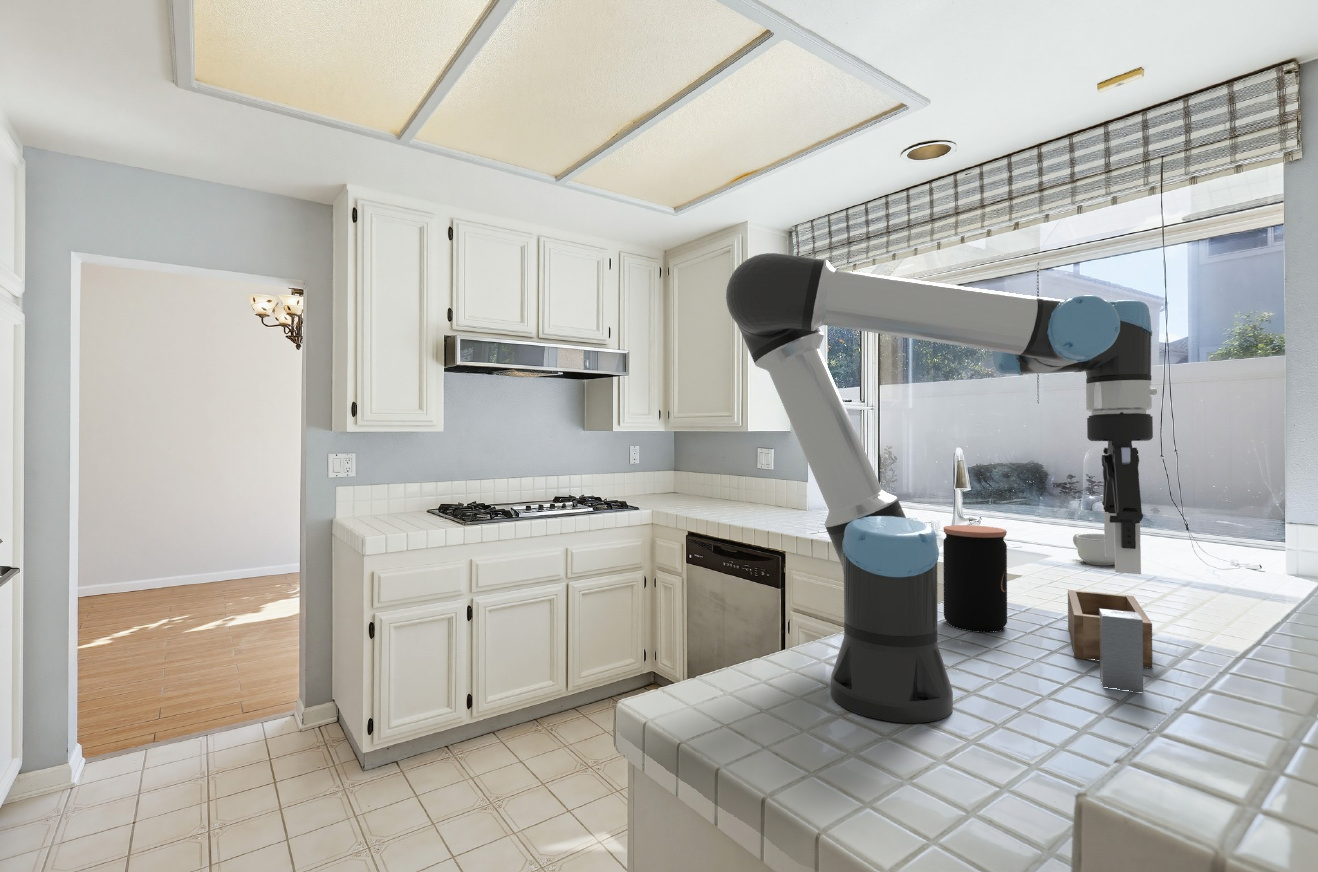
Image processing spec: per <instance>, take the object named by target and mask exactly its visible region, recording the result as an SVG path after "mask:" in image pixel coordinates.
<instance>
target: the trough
mask: <svg viewBox="0 0 1318 872" xmlns="http://www.w3.org/2000/svg"><path fill="white" fill-rule="evenodd" d="M1099 609H1108V610H1118V611H1127V612H1137V613H1138V614H1139V615H1140V617H1141V618H1142V620H1143V667H1148V668H1147V669H1150V668H1152V669H1153V622H1152V621H1151V620H1150V618H1149V617H1148V615H1147V614H1146V612H1145V611H1144V609H1143V608H1142V606H1141V605H1140V603H1139V602H1138V601H1137V600H1136V597H1135V596H1134V595H1129V594H1127V595H1126V594H1125V595H1124V594H1117V593H1108V592H1107V593H1104V592H1095V591H1085V590H1077V589H1076V590H1074V589H1067V627H1068V628H1067V629H1068V632H1069V634H1068V635H1069V637H1070V643H1071V647H1072V652H1073V653H1074V654H1073V657H1074V659H1078V658H1082V659H1081V660H1085V659H1095V660H1100V619H1099Z"/></svg>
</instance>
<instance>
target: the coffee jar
mask: <svg viewBox="0 0 1318 872" xmlns="http://www.w3.org/2000/svg"><path fill="white" fill-rule="evenodd" d="M1007 532H1008V531H1007V530H1006V529H1004V528H999V527H994V526H985V525H984V526H983V525H971V524H969V525H966V524H963V525H961V524H960V525H959V524H957V525H956V524H955V525H954V524H953V525H945V526H943V533H944V534H945V538H944V539H943V540H942V541H943V548H942V549H943V550H942V551H943V552H942V553H943V556H942V557H943V558H942V559H943V617H944V619H945V621H946V623H947V624H948V623H949V624H950V625H949V624H948V625H949V626H951V625H952V626H951V627H953V626H954V628H955V627H958V628H961V629H960V630H962V629H966V630H965V631H967V630H970V631H969V632H973V631H979V632H978V633H996V632H995V631H998V632H1001V631H1003V629H1004V628H1005V626H1006V625H1007V624H1008V544H1007V543H1006V541H1005V537H1006V536H1007ZM958 628H957V629H958ZM1000 630H1001V631H1000ZM993 631H994V632H993Z"/></svg>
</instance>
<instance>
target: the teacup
mask: <svg viewBox="0 0 1318 872" xmlns="http://www.w3.org/2000/svg"><path fill="white" fill-rule="evenodd" d="M1072 542H1073V545H1074V546H1075V547H1076V550H1077V554H1078V557H1079V558H1080V559H1081V560H1082V561H1083V562H1085V563H1086V564H1088V565H1094V566H1102V567H1104V566H1106V567H1107V566H1113V565H1114V566H1115V557H1105V535H1104V533H1076V534H1074V535H1073V537H1072Z"/></svg>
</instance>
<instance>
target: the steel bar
mask: <svg viewBox="0 0 1318 872" xmlns="http://www.w3.org/2000/svg"><path fill="white" fill-rule="evenodd" d="M1099 619H1100V662H1099V680H1100V679H1101V680H1100V683H1101V682H1102V683H1101V687H1102V686H1103V687H1108V688H1117V689H1120V690H1129V691H1133V692H1143V693H1144V668H1143V620H1142V618H1141V617H1140V615H1139V614H1138V613H1137V612H1127V611H1118V610H1108V609H1099ZM1103 687H1102V688H1103Z"/></svg>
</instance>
